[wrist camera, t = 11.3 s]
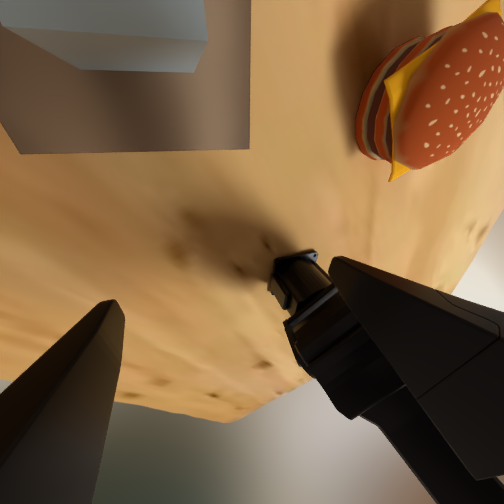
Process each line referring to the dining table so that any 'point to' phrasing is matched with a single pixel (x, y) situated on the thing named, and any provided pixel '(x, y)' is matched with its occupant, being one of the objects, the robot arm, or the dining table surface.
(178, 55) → the slate cube
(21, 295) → the dining table surface
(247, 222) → the dining table surface
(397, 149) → the hamburger
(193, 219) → the dining table surface
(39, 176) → the dining table surface
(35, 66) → the walnut block
